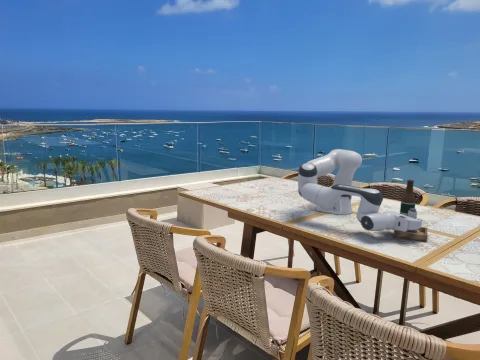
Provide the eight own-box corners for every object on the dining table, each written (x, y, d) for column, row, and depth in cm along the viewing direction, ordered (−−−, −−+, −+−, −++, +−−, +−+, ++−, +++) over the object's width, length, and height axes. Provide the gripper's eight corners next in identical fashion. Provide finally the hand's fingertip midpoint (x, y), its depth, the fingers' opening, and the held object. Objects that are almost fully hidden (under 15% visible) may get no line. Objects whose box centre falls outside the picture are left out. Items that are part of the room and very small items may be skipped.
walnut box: (393, 237, 182) (393, 230, 181) (395, 229, 195) (395, 223, 194) (426, 242, 175) (427, 235, 175) (426, 233, 189) (427, 227, 188)
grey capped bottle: (405, 234, 184) (408, 209, 182) (406, 232, 188) (408, 207, 185) (414, 235, 182) (417, 210, 180) (414, 233, 186) (417, 208, 184)
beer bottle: (412, 219, 216) (416, 179, 211) (414, 222, 208) (419, 181, 204) (398, 217, 218) (402, 178, 214) (400, 221, 210) (404, 180, 206)
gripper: (376, 220, 189) (397, 218, 194) (407, 232, 170) (429, 230, 175) (377, 209, 188) (398, 207, 193) (408, 219, 169) (430, 217, 174)
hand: (413, 218), depth 184 cm, fingers open, 8 cm apart
